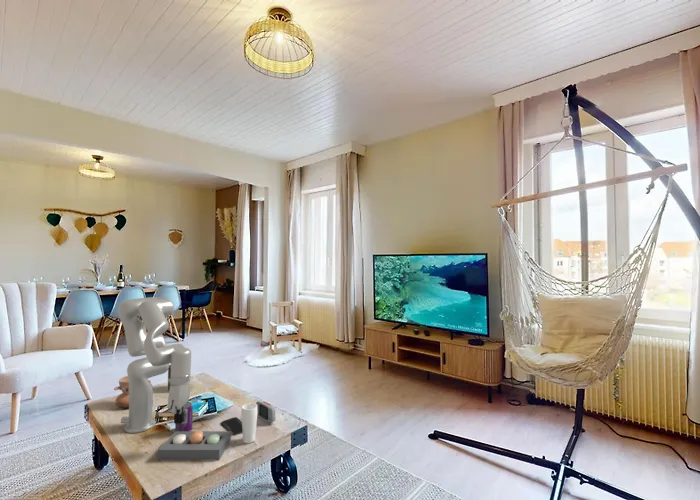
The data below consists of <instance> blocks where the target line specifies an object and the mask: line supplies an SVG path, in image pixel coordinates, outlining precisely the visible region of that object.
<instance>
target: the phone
mask: <svg viewBox="0 0 700 500" xmlns="http://www.w3.org/2000/svg"><path fill="white" fill-rule="evenodd" d="M220 423H221V425H222V427H223V428H225V430H226V431H231V435H232V436H237V435H240V434H243V432H242V420H240V419H239V418H238V417H237V416H235V417H230V418H228V419H225V420H222V421H221V422H220Z"/></svg>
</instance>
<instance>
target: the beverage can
mask: <svg viewBox="0 0 700 500" xmlns="http://www.w3.org/2000/svg"><path fill="white" fill-rule="evenodd" d="M193 409H194V407H193V405H192V402H191V401H188V402H187V403H186V404H185V409H184V421H183V422H182V423H174V424H175V426H174V427H175V429H174V430H175V431H192V430H193V417H194V415H193ZM175 431H174V432H175Z"/></svg>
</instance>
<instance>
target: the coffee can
mask: <svg viewBox="0 0 700 500" xmlns="http://www.w3.org/2000/svg"><path fill="white" fill-rule="evenodd" d="M170 376H171V364H169V368H168V370H167V392H168V393H169V390H170V385H171V384H170Z"/></svg>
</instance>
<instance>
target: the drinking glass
mask: <svg viewBox="0 0 700 500" xmlns="http://www.w3.org/2000/svg"><path fill="white" fill-rule="evenodd" d="M240 412H241V416H240V417H241V421H242V432H243V433H242V432H241V433H242V442H243V443H244V444H252V443H254V442H255V441H256V435H257V434H256V433H257V432H256V431H257V423H258V415H257V413H258V408H257V404H256V403H253V402H252V403H249V402H247V403H245V404H244V405H242V406H241V411H240Z"/></svg>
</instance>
